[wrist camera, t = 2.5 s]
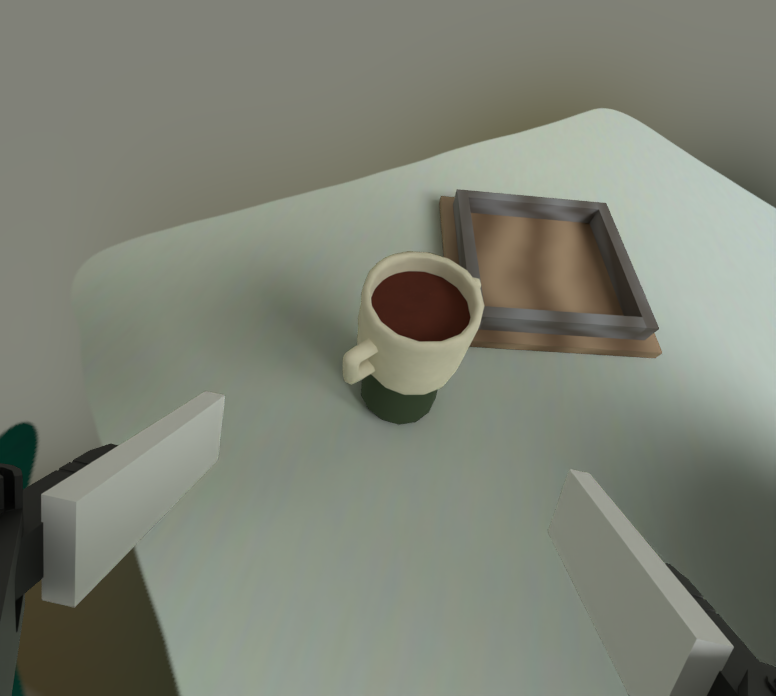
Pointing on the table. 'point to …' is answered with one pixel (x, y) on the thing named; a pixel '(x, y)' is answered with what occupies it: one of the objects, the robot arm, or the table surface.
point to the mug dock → (548, 274)
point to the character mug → (412, 332)
